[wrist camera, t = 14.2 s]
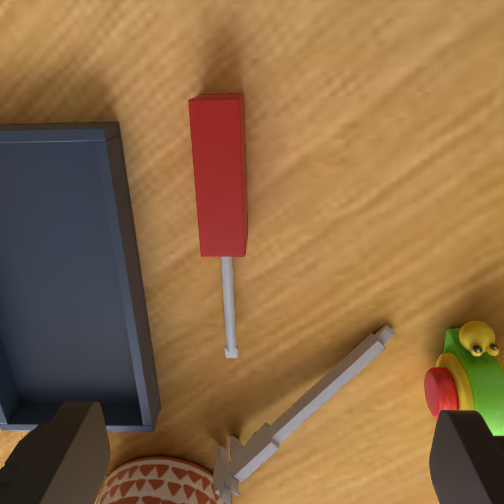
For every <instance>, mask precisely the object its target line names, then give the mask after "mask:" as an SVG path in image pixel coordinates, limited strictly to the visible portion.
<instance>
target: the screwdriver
mask: <svg viewBox="0 0 504 504" xmlns="http://www.w3.org/2000/svg"><path fill="white" fill-rule="evenodd" d="M188 102H189V115H190V127H191V140H192V152H193V165H194V177H195V190H196V202H197V215H198V227H199V240H200V252H201V257H221V268H222V285H223V302H224V319H225V336H226V346H225V358H238V346H236V332H235V310H234V289H233V268H232V257H244V256H245V254H246V247H247V239H248V214H247V180H246V146H245V112H244V94H202V95H198V96H196V97H194V98H192V99H189V101H188Z"/></svg>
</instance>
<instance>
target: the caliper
mask: <svg viewBox="0 0 504 504" xmlns="http://www.w3.org/2000/svg"><path fill="white" fill-rule="evenodd" d="M393 334H394V331H393V330H392V329H391V328H390V327H389V326H388V325H385V326H384V327H383V328H381V329H380V330H379V331H378V332H377V333H376V334H375V335H374V334H373V333H371V334H369V335H368V336H367V337H366V338H365V339H364V340H363V341H362V342H361V343H360V344H359V345H358V346H356V347H355V348H354V349H353V350H352V351H351V352H350V353H349V354H348V355H347V356H346V357H345V358H343V359H342V360H341V361H340V362H339V363H338V364H337V365H336V366H335V367H334V368H333V369H331V370H330V371H329V372H328V373H327V374H326V375H325V376H324V377H323V378H322V379H321V380H320V381H318V382H317V383H316V384H315V385H314V386H313V387H312V388H311V389H310V390H309V391H308V392H306V393H305V394H304V395H303V396H302V397H301V398H300V399H299V400H298V401H297V402H295V403H294V404H293V405H292V406H291V407H290V408H289V409H288V410H287V411H286V412H284V413H283V414H282V415H281V416H280V417H279V418H278V419H277V420H276V421H275V422H273V423H272V424H271V425H269V424H268V423H265V424H264V425H263V426H262V427H261V428H260V429H259V430H258V431H257V432H255V433H254V434H253V435H252V437H251V438H250V439H249V440H248V442H247V444H246V445H245V446H243V444H242V443H241V441H240V440H238V439H237V438H235V437H234V436H230V452H231V457H232V461H231V462H230V463H229V459H228V451H227V450H226V449H225V448H223V447H222V446H219V447H218V449H217V451H216V457H215V465H214V472H213V482H214V492H215V493H216V494H217V495H219V496H220V500H221V501H223V502H224V503H226V504H230V501H231V497H232V492H233V493H234V494H236V495H237V496H239V488H238V483H239V480H240V481H241V482H243V481H244V480H245V479H246V478H248V477H249V476H250V475H251V474H252V473H253V472H254V471H255V470H256V469H257V468H258V467H260V466H261V465H262V464H263V463H264V462H265V461H266V460H267V459H268V458H269V457H270V456H272V455H273V454H274V453H275V452H276V451H277V450H278V449H279V444H280V443H281V442H282V441H283V440H284V439H286V438H287V437H288V436H289V435H290V434H291V433H292V432H293V431H294V430H296V429H297V428H298V427H299V426H300V425H301V424H302V423H303V422H304V421H306V420H307V419H308V418H309V417H310V416H311V415H312V414H313V413H314V412H316V411H317V410H318V409H319V408H320V407H321V406H322V405H323V404H324V403H326V402H327V401H328V400H329V399H330V398H331V397H332V396H333V395H334V394H336V393H337V392H338V391H339V390H340V389H341V388H342V387H343V386H344V385H346V384H347V383H348V382H349V381H350V380H351V379H352V378H353V377H354V376H356V375H357V374H358V373H359V372H360V371H361V370H362V369H363V368H364V367H365V366H367V365H368V364H369V363H370V362H371V361H372V360H373V359H374V358H375V357H377V356H378V355H379V354H380V353H381V352H382V351H383V350H384V349H385V346H384V344H385V343H386V342H387V341H389V340H390V339H391V338H392V337H393Z"/></svg>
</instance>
